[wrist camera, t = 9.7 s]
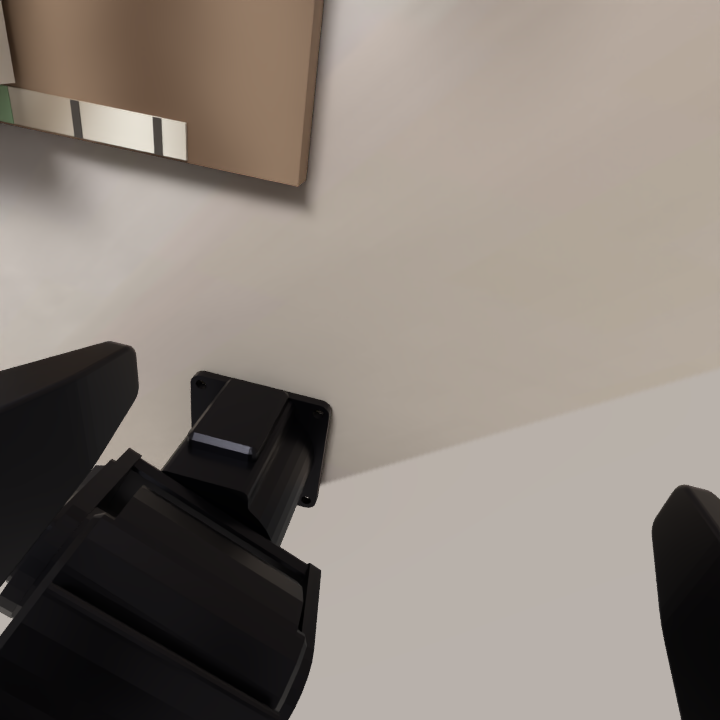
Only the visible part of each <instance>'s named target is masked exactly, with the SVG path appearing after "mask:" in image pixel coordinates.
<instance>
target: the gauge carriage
mask: <svg viewBox="0 0 720 720" xmlns="http://www.w3.org/2000/svg"><path fill="white" fill-rule="evenodd" d="M9 83H15V78H14V73H13V67H12V61H11V55H10V50H9V44H8V38H7V32H6V27H5V21H4V15H3V9H2V4H1V0H0V84H9Z"/></svg>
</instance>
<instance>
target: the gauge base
mask: <svg viewBox="0 0 720 720" xmlns="http://www.w3.org/2000/svg"><path fill="white" fill-rule="evenodd" d="M323 2H324V0H1V4H2V9H3V15H4V21H5V27H6V32H7V38H8V44H9V50H10V55H11V61H12V67H13V73H14V78H15V83H9V84H0V123H4V124H9V125H13V126H18V127H23V128H27V129H32V130H37V131H41V132H46V133H51V134H55V135H60V136H65V137H69V138H74V139H79V140H83V141H88V142H92V143H97V144H102V145H106V146H111V147H116V148H120V149H125V150H130V151H134V152H139V153H144V154H148V155H153V156H158V157H162V158H167V159H172V160H176V161H181V162H186V163H190V164H195V165H200V166H204V167H209V168H214V169H218V170H223V171H227V172H232V173H237V174H241V175H246V176H251V177H255V178H260V179H265V180H269V181H274V182H279V183H283V184H288V185H293V186H297V187H298V186H299V185H301V184H302V183H303V182H304V181H306V176H307V166H308V155H309V145H310V135H311V125H312V115H313V104H314V94H315V84H316V74H317V64H318V53H319V43H320V33H321V23H322V13H323Z"/></svg>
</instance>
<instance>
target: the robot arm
mask: <svg viewBox="0 0 720 720" xmlns="http://www.w3.org/2000/svg"><path fill="white" fill-rule="evenodd" d="M200 380H202V381H204V382H205V383H206V385H205V384H203V383H202V382H201V381H200ZM138 389H139V382H138V370H137V358H136V352H135V350H134V349H133V348H132V347H131V346H129V345H125V344H121V343H117V342H112V341H107V342H103V343H100V344H96V345H92V346H89V347H85V348H82V349H78V350H74V351H71V352H67V353H64V354H60V355H56V356H53V357H49V358H46V359H42V360H38V361H35V362H31V363H28V364H24V365H20V366H17V367H13V368H10V369H6V370H2V371H0V587H1V586H2V584H3V583H4V582H5V580H6V582H7V583H8V584H7V585H6V587H5V588H4V590H3V591H2V593H1V594H0V612H1V613H3V614H5V615H7V616H8V617H10V618H13V620H12V621H11V622H10V624H9V625H8V626H7V628H6V629H5V631H4V632H3V633H2V634H1V636H0V720H288V719H289V718H290V716H291V714H292V712H293V710H294V709H295V707H296V704H297V702H298V700H299V698H300V696H301V694H302V691H303V689H304V686H305V683H306V681H307V678H308V675H309V671H310V668H311V664H312V659H313V653H314V645H315V634H316V622H317V612H318V601H319V590H320V578H321V570H320V569H318V568H317V567H315V566H314V565H312V564H311V563H309V564H306V563H304V562H303V561H301V560H299V559H298V558H296V557H295V556H293V555H292V554H290V553H289V552H287V551H286V550H284V549H282V548H281V547H280V545H281V542H282V540H283V538H284V535H285V533H286V530H287V527H288V525H289V523H290V520H291V518H292V515H293V513H294V511H295V508H296V506H297V505H299V506H302V507H308V508H309V507H313V506H314V505H315V503H316V500H317V497H318V492H319V486H320V480H321V474H322V467H323V461H324V455H325V449H326V442H327V436H328V430H329V424H330V417H331V407H330V405H329V404H328V403H327V402H325V401H322V400H319V399H315V398H311V397H307V396H303V395H299V394H295V393H291V392H287V391H283V390H279V389H275V388H271V387H267V386H263V385H259V384H255V383H251V382H247V381H243V380H239V379H235V378H231V377H227V376H223V375H219V374H215V373H211V372H207V371H199V372H197V373H196V374H195V375H194V377H193V378H192V379H191V421H192V429H191V430H190V431H189V432H188V435H187V436H186V438H185V439H184V440H183V442H182V443H181V444H180V446H179V447H178V448H177V449H176V451H175V452H174V453H173V455H172V456H171V457H170V459H169V460H168V461H167V463H166V464H165V465H164V467H163V468H162V469H161V471H160V470H159V469H157V468H155V467H154V466H152V465H151V464H149V463H148V462H146V461H145V460H143V459H141V457H142V455H140V454H138V453H137V452H135V451H134V450H132V449H131V448H129V449H128V450H127V451H126V452H125V453H124V454H123V455H122V456H121V457H120V458H119V459H118V460H117V461H115V460H113V459H111V460H110V461H109V462H108V463H107V464H106V465H105V466H99V465H96V466H95V467H94V465H95V464H96V462H97V461H98V459H99V458H100V456H101V454H102V453H103V451H104V450H105V448H106V446H107V445H108V443H109V441H110V440H111V438H112V437H113V435H114V433H115V432H116V430H117V428H118V427H119V425H120V424H121V422H122V420H123V419H124V417H125V416H126V414H127V412H128V411H129V409H130V407H131V406H132V404H133V403H134V401H135V399H136V397H137V394H138ZM316 410H320V411H322V412H323V414H320V413H318V412H317V411H316ZM93 467H94V468H93ZM92 468H93V469H92ZM306 497H308V498H306ZM652 542H653V552H654V562H655V572H656V582H657V591H658V602H659V611H660V619H661V626H662V631H663V637H664V641H665V646H666V651H667V656H668V660H669V665H670V670H671V674H672V679H673V683H674V688H675V693H676V697H677V702H678V707H679V711H680V716H681V720H720V499H719V498H718V497H717V496H716V495H714V494H713V493H712V492H710V491H708V490H705V489H701V488H696V487H693V486H689V485H680V486H678V487H677V488H676V489H675V490H674V491H673V492H672V494H671V495H670V497H669V498H668V500H667V501H666V503H665V504H664V506H663V507H662V509H661V510H660V512H659V513H658V515H657V516H656V518H655V520H654V522H653V526H652Z"/></svg>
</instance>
